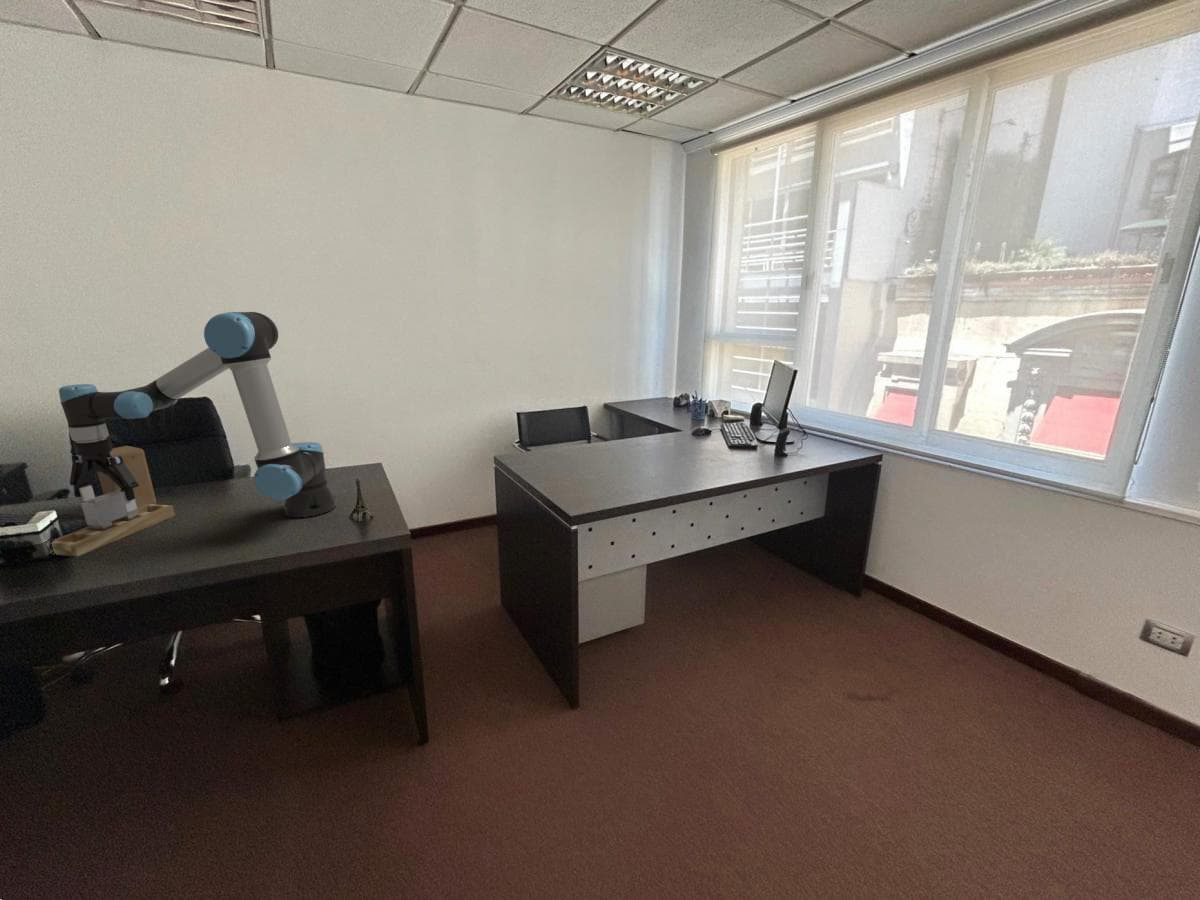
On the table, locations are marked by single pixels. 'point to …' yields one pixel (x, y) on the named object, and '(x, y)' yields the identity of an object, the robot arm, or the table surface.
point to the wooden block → (138, 469)
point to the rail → (110, 531)
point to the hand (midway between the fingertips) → (111, 509)
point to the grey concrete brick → (106, 511)
